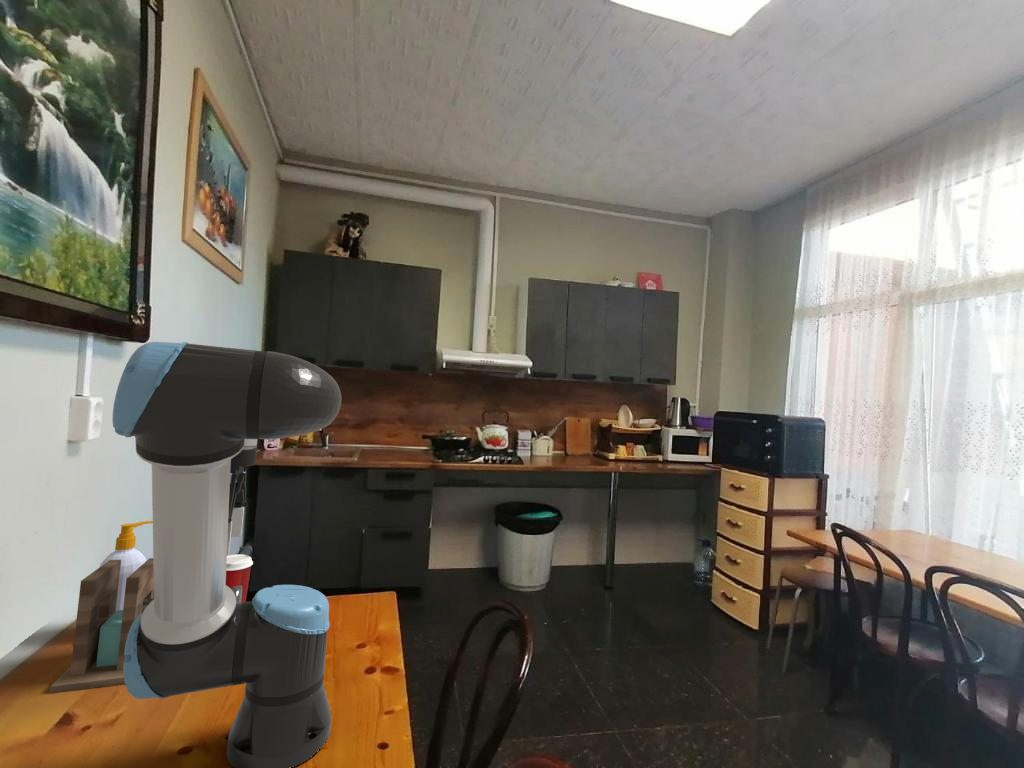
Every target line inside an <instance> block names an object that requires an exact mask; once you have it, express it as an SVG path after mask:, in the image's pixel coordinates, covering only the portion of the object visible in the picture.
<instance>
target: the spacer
mask: <svg viewBox="0 0 1024 768" xmlns="http://www.w3.org/2000/svg"><path fill="white" fill-rule="evenodd" d="M122 616H123V610H118V611H116V612H115V613H114V614H113V615H112V616H111V617H110V618H109V619H108V620H107V621H106V622H105V623H104V624H103V625H102V626H101V627H100V636H99V645H98V655H97V664H96V667H100V666H109V665H117V662H118V653H119V644H120V634H121V625H122Z"/></svg>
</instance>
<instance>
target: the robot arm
mask: <svg viewBox="0 0 1024 768" xmlns="http://www.w3.org/2000/svg"><path fill="white" fill-rule="evenodd" d="M119 379H120V380H119V381H118V382H119V383H118V385H117V389H116V393H115V398H114V402H113V409H112V427H113V428H114V432H115V433H116V434H117V435H118V436H124V437H125V438H131V437H135V452H136V455H137V457H138V458H140V459H141V460H143V461H144V462H145V463H148V464H150V465H151V493H152V494H151V495H152V496H151V498H152V506H151V507H152V521H153V523H152V547H153V548H152V558H153V567H154V600H152V601H151V602H150V604H149V605H148V606H147V607H146V608H145V610H144V612H143V613H142V614H140V615H139V616H138V617H137V618H136V619H135V620H134V622H133V624H132V626H131V628H130V630H129V633H128V636H127V640H126V644H125V652H124V655H125V661H124V664H123V673H124V681H125V684H124V685H125V688H126V690H127V692H128V693H129V694H130V696H131V697H133V698H135V699H138V700H146V699H148V700H149V699H167V698H169V697H174V696H179V695H185V694H191V693H196V692H204V691H209V690H214V689H215V690H216V689H221V688H226V687H230V686H231V687H232V686H238V685H245V689H244V691H245V692H244V697H243V698H242V702H241V703H240V706H239V709H238V711H237V714H236V716H235V718H234V721H233V723H232V724H231V728H230V730H229V732H228V733H229V734H228V738H227V746H226V758H227V761H228V763H229V764H230V765H231V767H233V768H234V767H235V768H289V767H293V766H295V767H298V766H299V764H300V765H301V764H303V762H304V763H305V762H307V761H308V760H310V759H311V758H312V757H311V756H313V755H314V754H315V753H316V752H317V751H318V750H319V749H320V748H321V747H322V746H323V745H324V743H325V742H326V741H327V742H328V740H329V738H328V737H330V735H331V728H332V711H331V707H330V703H329V700H328V699H329V698H328V697H327V691H326V688H325V685H324V681H325V680H324V679H325V669H326V668H325V666H326V656H327V655H326V654H327V653H326V651H327V640H328V630H329V629H330V620H329V617H330V616H329V615H330V613H329V612H330V602H329V600H328V598H327V596H326V595H325V594H323V593H322V592H321V591H320V590H316V589H314V588H312V587H309V586H305V585H299V584H298V585H297V584H276V585H271V587H263V588H261V589H260V590H258V591H257V592H256V593H255V595H254V597H253V598H252V600H251V601H246V602H239V603H236V597H235V594H234V592H233V591H232V590H231V589H230V588H229V587H228V586H226V562H227V556H229V555H230V550H231V548H230V547H231V538H241V537H242V532H243V522H244V521H243V520H244V511H245V507H246V508H247V507H248V506H249V502H248V501H247V470H248V467H252V466H254V465H255V464H256V461H257V452H258V451H257V449H256V448H255V447H256V446H257V445H258V440H277V439H278V440H279V439H288V438H294V437H297V436H303V435H307V434H310V433H314V432H317V431H320V430H322V429H324V428H326V427H328V426H330V425H331V424H332V422H333V421H334V420H335V419H336V418H337V416H338V414H339V413H340V410H341V407H342V401H343V400H342V399H343V398H342V391H341V389H340V387H339V384H338V383H337V381H336V380H335V379H334V377H333V376H332V375H331V374H329V373H328V372H327V371H326V370H324V369H323V368H321V367H319V366H317V365H316V364H313V363H311V362H309V361H307V360H305V359H302V358H300V357H297V356H295V355H291V354H286V353H282V352H278V351H277V352H276V351H271V350H270V351H269V350H268V351H263V350H255V349H244V348H233V347H226V346H225V347H223V346H215V345H214V346H213V345H206V344H205V345H203V344H196V343H189V342H188V341H182V342H167V341H166V342H165V341H151V342H149V341H148V342H146V343H144V344H142V345H140V346H139V347H138V348H137V349H136V350H135V351H134V352H133V353H132V355H130V357H129V359H128V361H127V363H126V364H125V367H124V369H123V372H122V374H121V377H120V378H119ZM327 739H328V740H327ZM327 742H326V743H327ZM324 746H325V745H324ZM324 746H323V747H324ZM323 747H322V748H323ZM315 755H316V754H315ZM315 755H314V756H315ZM314 756H313V757H314ZM310 757H311V758H310ZM309 758H310V759H309ZM306 760H307V761H306ZM297 765H298V766H297ZM293 768H294V767H293Z"/></svg>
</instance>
